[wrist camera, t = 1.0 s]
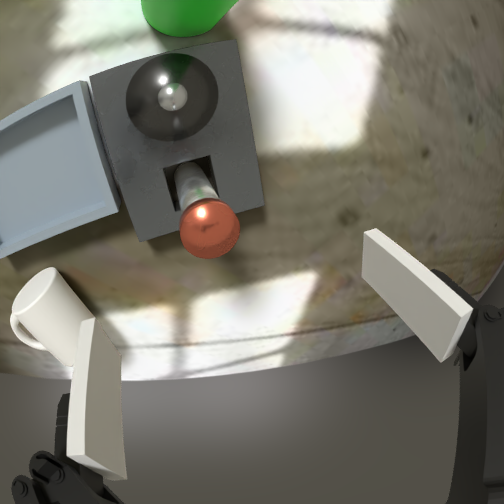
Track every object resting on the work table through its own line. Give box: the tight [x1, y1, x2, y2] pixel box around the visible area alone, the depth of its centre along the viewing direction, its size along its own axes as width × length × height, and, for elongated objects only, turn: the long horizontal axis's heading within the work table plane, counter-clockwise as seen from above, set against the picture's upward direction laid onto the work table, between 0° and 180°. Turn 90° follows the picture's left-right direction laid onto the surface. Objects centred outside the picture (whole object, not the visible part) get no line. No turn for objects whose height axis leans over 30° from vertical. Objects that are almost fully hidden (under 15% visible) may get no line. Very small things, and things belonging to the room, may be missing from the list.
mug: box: [10, 267, 102, 367], centre depth 30 cm, size 12×10×8 cm
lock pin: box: [174, 162, 240, 259], centre depth 26 cm, size 4×4×14 cm
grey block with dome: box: [89, 39, 265, 242], centre depth 26 cm, size 14×18×7 cm
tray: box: [0, 80, 121, 259], centre depth 24 cm, size 18×14×3 cm
